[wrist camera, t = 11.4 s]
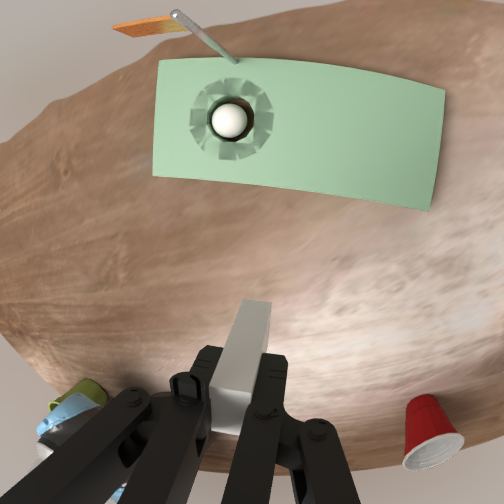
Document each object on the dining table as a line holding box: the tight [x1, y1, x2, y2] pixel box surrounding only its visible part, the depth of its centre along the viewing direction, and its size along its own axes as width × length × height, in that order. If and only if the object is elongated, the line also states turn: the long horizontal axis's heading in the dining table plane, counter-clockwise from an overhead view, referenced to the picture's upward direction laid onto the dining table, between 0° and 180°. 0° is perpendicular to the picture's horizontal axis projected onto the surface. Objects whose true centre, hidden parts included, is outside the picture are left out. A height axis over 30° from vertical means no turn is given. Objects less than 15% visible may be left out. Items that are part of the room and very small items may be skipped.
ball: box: [212, 104, 247, 138], centre depth 34 cm, size 4×4×4 cm
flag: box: [113, 9, 238, 65], centre depth 22 cm, size 5×1×16 cm, turn 85°
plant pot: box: [48, 379, 107, 412], centre depth 55 cm, size 12×12×11 cm
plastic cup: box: [402, 394, 464, 471], centre depth 40 cm, size 11×11×12 cm
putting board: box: [153, 57, 445, 212], centre depth 33 cm, size 32×14×4 cm, turn 85°
